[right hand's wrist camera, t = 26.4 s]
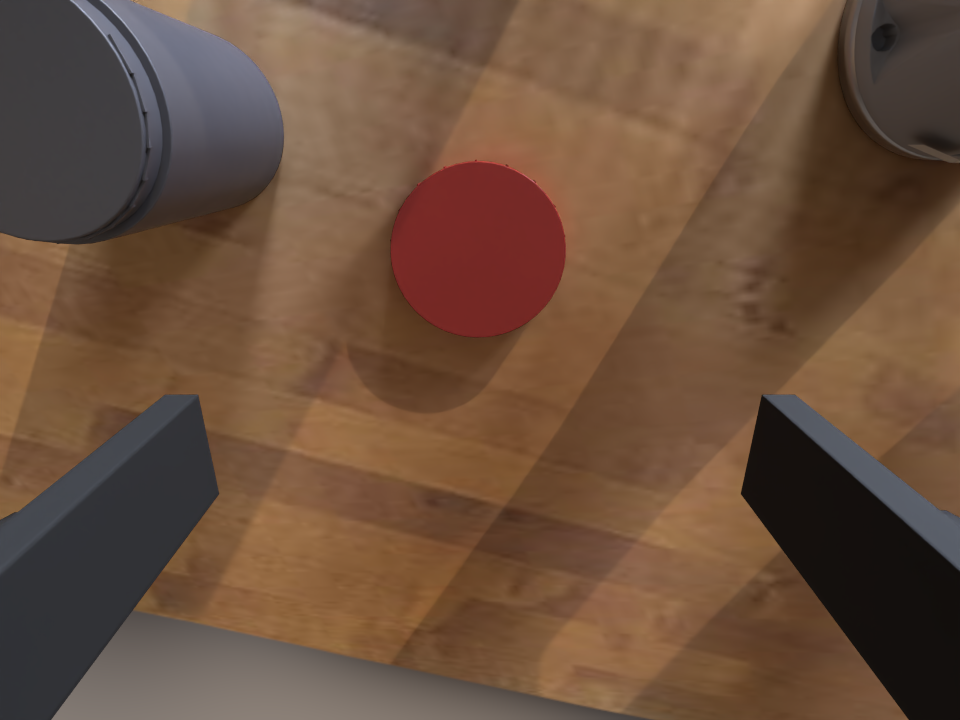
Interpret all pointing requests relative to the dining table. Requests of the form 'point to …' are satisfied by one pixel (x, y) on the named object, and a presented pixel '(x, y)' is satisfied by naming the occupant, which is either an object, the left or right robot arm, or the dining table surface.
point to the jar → (124, 121)
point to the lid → (478, 249)
